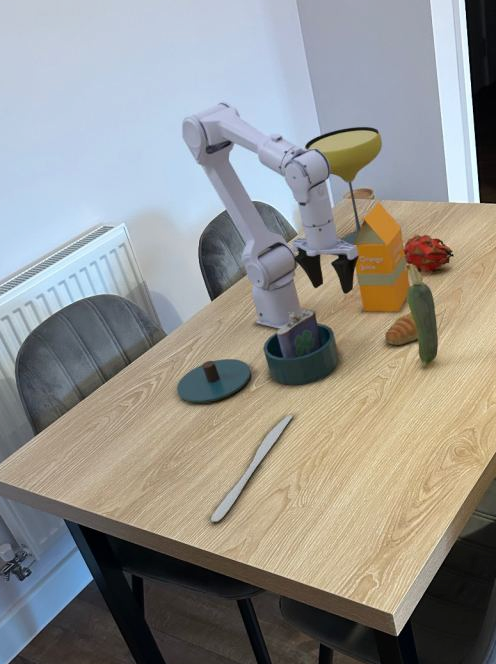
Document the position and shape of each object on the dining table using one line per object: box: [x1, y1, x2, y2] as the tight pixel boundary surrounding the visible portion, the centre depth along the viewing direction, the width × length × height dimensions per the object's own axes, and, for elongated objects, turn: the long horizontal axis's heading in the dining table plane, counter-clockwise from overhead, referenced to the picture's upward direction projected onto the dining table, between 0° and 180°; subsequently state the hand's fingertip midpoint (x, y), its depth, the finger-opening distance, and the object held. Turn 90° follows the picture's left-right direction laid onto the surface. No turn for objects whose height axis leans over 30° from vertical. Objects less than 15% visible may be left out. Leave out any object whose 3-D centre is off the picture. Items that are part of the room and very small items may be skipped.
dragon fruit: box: [404, 234, 455, 274], centre depth 167 cm, size 8×8×12 cm
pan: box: [262, 322, 340, 386], centre depth 143 cm, size 13×13×6 cm
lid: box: [176, 358, 252, 404], centre depth 144 cm, size 14×14×4 cm
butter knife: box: [210, 414, 293, 523], centre depth 122 cm, size 1×27×3 cm
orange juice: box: [353, 201, 411, 313], centre depth 154 cm, size 8×9×20 cm
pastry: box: [384, 311, 418, 346], centre depth 145 cm, size 9×7×4 cm
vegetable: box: [404, 263, 439, 366], centre depth 130 cm, size 4×4×20 cm
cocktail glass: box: [304, 126, 383, 245], centre depth 183 cm, size 18×18×25 cm
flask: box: [276, 310, 322, 358], centre depth 141 cm, size 9×3×11 cm, turn 136°
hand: (333, 288), depth 145 cm, fingers open, 7 cm apart
